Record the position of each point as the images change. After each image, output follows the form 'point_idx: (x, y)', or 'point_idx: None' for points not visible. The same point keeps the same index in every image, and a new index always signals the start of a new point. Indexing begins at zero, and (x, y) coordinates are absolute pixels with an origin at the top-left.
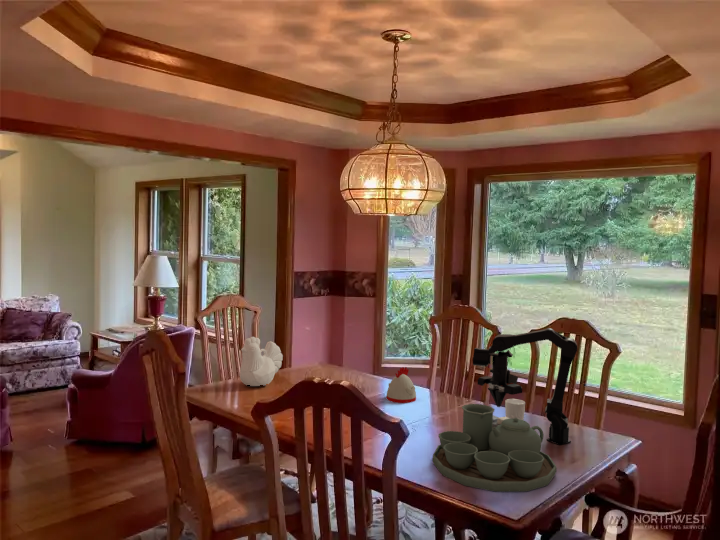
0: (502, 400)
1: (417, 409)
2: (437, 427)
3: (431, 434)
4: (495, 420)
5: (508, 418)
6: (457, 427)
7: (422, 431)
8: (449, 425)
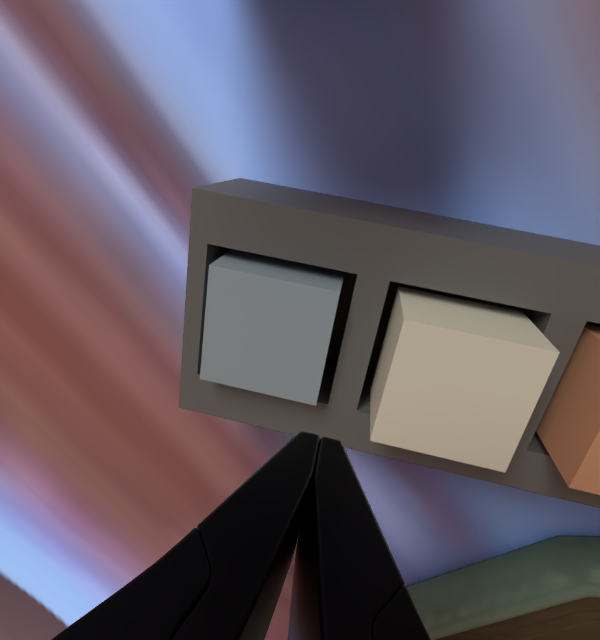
0: (383, 558)
1: None
2: (12, 472)
3: (95, 578)
4: (321, 374)
5: (494, 361)
6: (67, 389)
7: (35, 569)
8: (10, 392)
